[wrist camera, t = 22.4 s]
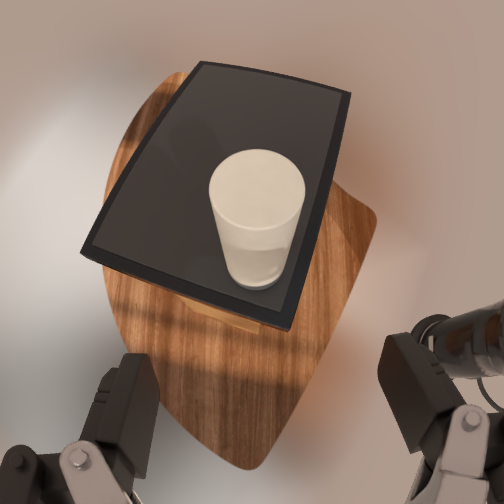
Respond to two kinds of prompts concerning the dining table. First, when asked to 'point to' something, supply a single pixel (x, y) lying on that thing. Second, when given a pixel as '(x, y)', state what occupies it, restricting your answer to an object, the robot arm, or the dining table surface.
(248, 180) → the cream cylinder
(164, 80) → the dining table surface
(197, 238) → the tablet
